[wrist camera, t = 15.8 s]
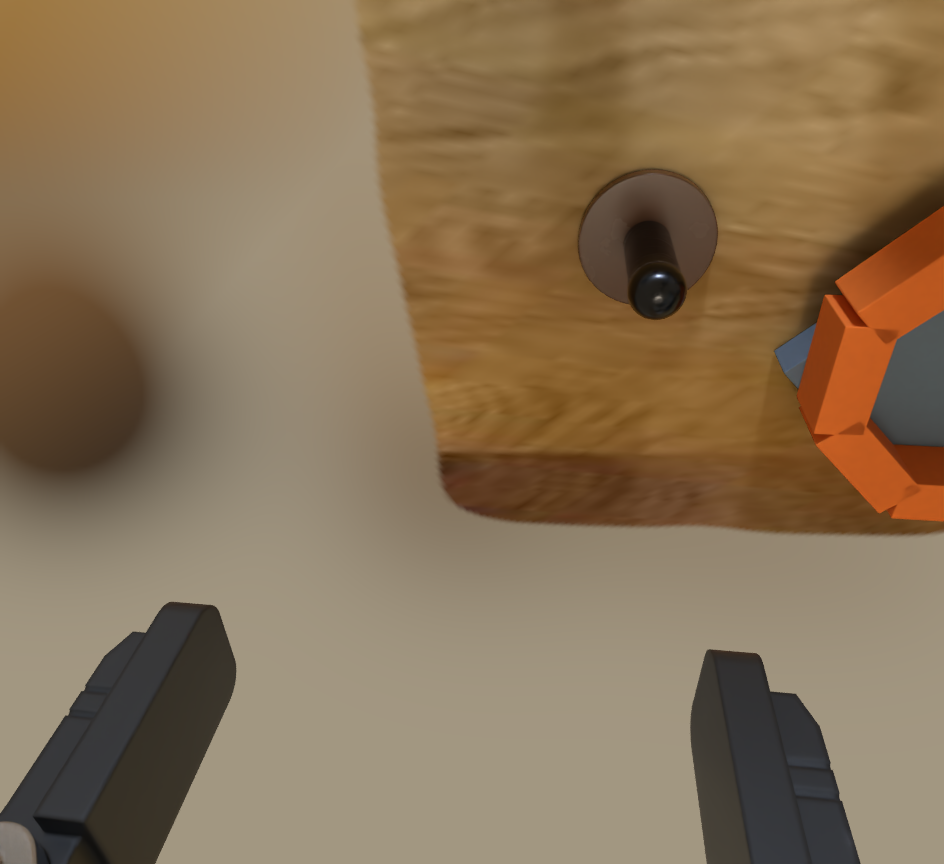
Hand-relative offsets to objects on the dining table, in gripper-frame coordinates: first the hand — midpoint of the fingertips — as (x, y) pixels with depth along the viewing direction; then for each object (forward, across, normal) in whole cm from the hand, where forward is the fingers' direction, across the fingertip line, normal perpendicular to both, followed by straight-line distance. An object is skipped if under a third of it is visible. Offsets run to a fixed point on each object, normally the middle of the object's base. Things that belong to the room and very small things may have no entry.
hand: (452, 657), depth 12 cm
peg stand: (+30, -6, +4) cm, 31 cm away
